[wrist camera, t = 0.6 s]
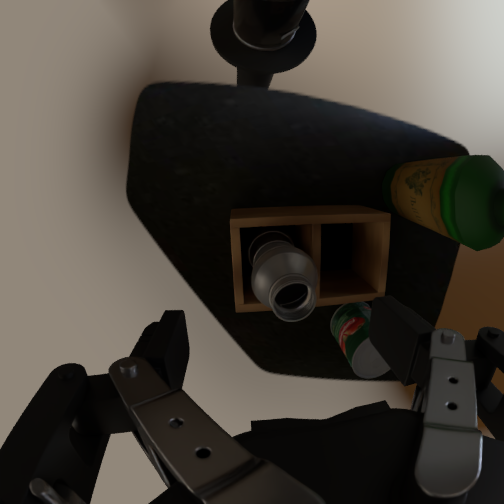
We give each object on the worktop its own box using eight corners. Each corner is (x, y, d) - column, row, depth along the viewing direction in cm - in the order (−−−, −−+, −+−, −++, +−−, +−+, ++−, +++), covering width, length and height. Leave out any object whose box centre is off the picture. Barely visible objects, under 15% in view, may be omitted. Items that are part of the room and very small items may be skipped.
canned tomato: (329, 305, 45) (353, 340, 35) (373, 296, 45) (404, 326, 35) (330, 345, 47) (351, 384, 37) (371, 335, 47) (398, 370, 37)
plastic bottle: (237, 236, 42) (237, 287, 22) (279, 214, 41) (317, 248, 22) (257, 274, 43) (272, 349, 24) (298, 253, 43) (344, 314, 24)
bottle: (364, 168, 40) (515, 174, 13) (415, 148, 39) (559, 145, 12) (385, 232, 43) (522, 298, 16) (433, 208, 42) (567, 248, 15)
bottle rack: (231, 208, 41) (229, 219, 31) (358, 204, 41) (390, 213, 32) (235, 282, 43) (235, 312, 34) (356, 274, 44) (384, 298, 35)
